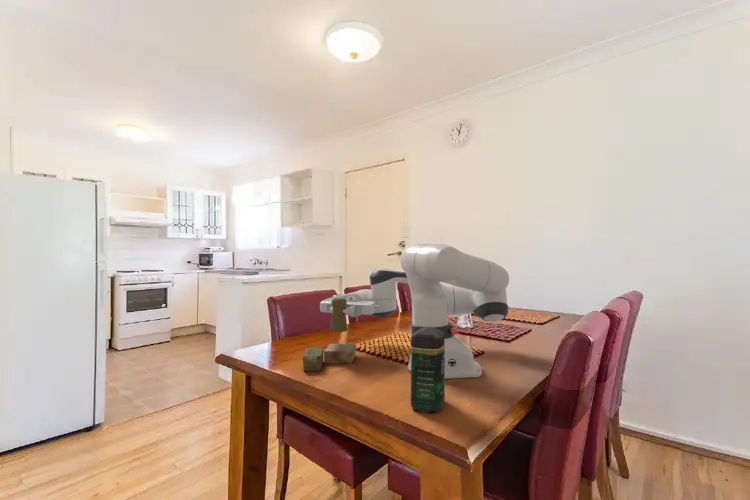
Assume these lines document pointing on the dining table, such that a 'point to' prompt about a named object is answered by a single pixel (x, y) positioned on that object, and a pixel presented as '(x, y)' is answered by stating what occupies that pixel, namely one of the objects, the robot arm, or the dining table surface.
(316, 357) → the stone block
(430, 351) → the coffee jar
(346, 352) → the walnut block
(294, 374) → the dining table surface
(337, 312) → the olive peg figure
